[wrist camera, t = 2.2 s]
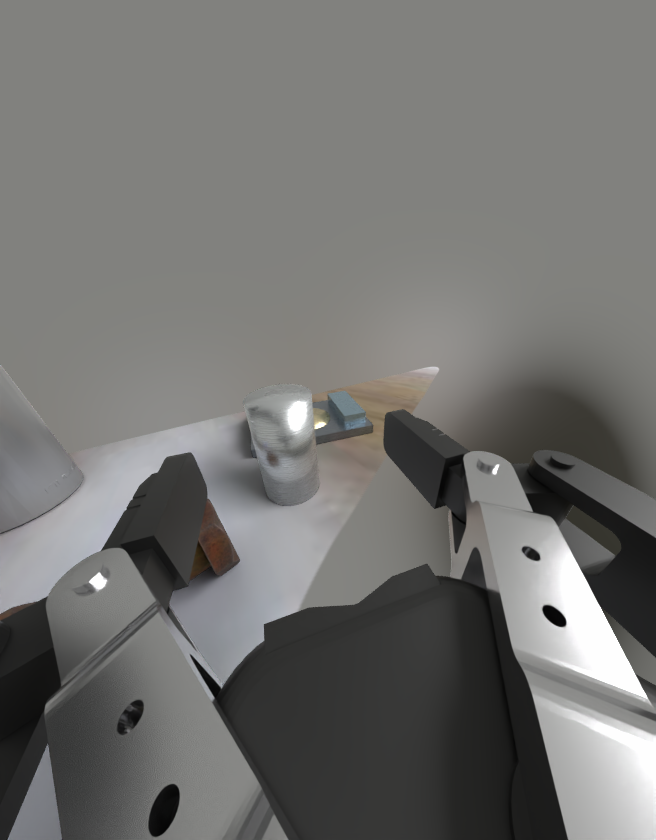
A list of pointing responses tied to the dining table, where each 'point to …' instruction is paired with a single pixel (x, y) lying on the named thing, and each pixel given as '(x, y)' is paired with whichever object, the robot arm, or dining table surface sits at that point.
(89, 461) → the dining table surface
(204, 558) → the bolt
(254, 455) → the base plate
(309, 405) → the cylinder
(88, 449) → the dining table surface
